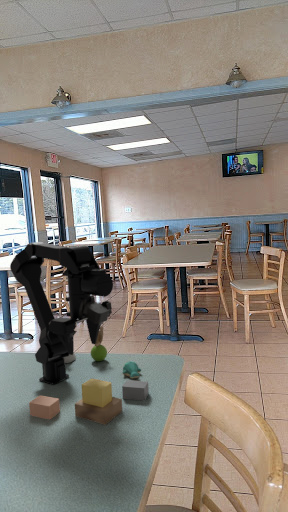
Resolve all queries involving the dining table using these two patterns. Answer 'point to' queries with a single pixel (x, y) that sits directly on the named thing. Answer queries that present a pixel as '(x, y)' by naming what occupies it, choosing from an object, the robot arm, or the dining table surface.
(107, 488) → the dining table surface
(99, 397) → the mustard brick
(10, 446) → the dining table surface
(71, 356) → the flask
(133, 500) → the dining table surface
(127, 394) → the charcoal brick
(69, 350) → the robot arm
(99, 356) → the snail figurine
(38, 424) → the dining table surface
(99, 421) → the walnut block
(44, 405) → the terracotta brick
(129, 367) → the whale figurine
